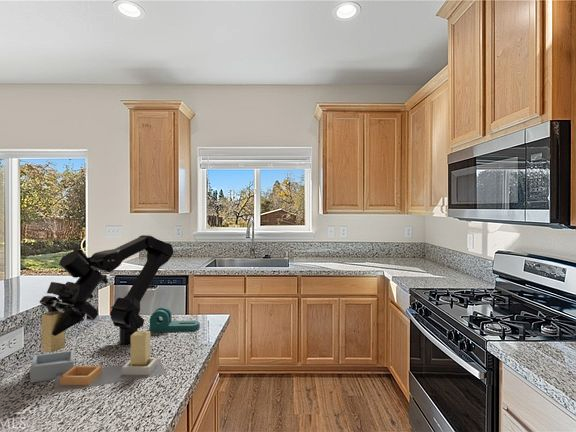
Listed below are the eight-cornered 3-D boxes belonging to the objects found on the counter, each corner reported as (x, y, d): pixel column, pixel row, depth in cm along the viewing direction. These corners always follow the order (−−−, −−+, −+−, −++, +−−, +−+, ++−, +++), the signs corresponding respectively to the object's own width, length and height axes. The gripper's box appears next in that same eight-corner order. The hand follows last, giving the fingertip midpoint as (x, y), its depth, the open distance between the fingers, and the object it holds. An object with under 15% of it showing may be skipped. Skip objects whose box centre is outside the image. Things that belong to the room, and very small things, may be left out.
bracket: (149, 332, 151) (149, 311, 151) (153, 327, 158) (153, 307, 158) (198, 331, 153) (198, 310, 153) (200, 326, 160) (200, 306, 160)
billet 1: (55, 345, 115) (55, 310, 115) (64, 348, 113) (64, 312, 113) (41, 350, 111) (41, 314, 111) (51, 352, 110) (51, 315, 110)
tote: (34, 369, 115) (34, 355, 115) (74, 363, 119) (74, 350, 119) (30, 382, 106) (30, 367, 106) (73, 376, 110) (73, 361, 110)
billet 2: (135, 366, 113) (136, 331, 113) (150, 366, 114) (150, 331, 113) (130, 372, 109) (130, 335, 109) (145, 372, 110) (145, 335, 109)
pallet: (56, 380, 108) (56, 367, 108) (159, 363, 120) (159, 352, 120) (53, 399, 97) (53, 384, 97) (166, 379, 109) (166, 366, 109)
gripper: (45, 268, 120) (6, 313, 110) (89, 273, 112) (50, 322, 102) (70, 290, 127) (35, 334, 117) (112, 296, 119) (78, 344, 109)
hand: (48, 333), depth 111 cm, fingers closed on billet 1, 4 cm apart
